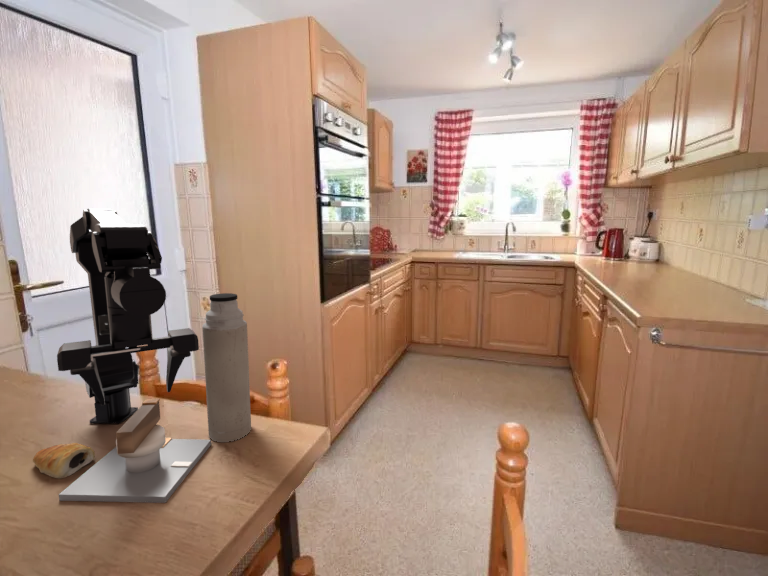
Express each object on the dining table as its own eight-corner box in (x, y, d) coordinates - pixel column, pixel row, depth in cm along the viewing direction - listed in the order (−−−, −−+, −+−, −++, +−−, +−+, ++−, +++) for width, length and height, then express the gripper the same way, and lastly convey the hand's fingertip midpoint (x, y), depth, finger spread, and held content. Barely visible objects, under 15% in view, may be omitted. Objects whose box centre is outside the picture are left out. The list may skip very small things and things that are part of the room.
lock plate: (127, 442, 77) (125, 423, 76) (211, 444, 77) (210, 424, 76) (59, 500, 61) (56, 476, 60) (165, 502, 61) (163, 478, 60)
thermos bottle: (221, 420, 86) (214, 290, 81) (257, 423, 85) (252, 291, 80) (200, 441, 78) (191, 297, 73) (240, 443, 77) (234, 299, 72)
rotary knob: (102, 467, 62) (98, 432, 61) (134, 430, 73) (131, 399, 72) (151, 463, 63) (148, 429, 62) (175, 427, 74) (173, 397, 73)
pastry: (20, 471, 68) (17, 450, 67) (62, 450, 74) (60, 431, 74) (61, 482, 65) (58, 460, 65) (101, 459, 72) (99, 439, 71)
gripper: (185, 292, 76) (190, 371, 78) (58, 301, 65) (69, 393, 68) (196, 302, 67) (202, 391, 69) (51, 315, 56) (63, 420, 59)
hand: (137, 397), depth 67 cm, fingers open, 9 cm apart
